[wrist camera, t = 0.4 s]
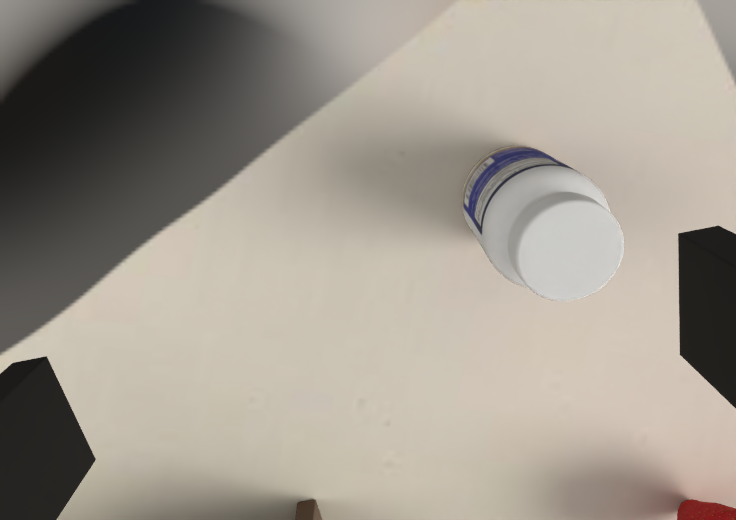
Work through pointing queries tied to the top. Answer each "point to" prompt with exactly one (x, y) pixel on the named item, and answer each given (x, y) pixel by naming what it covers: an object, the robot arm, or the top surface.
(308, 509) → the shelf
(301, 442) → the top surface
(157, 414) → the top surface
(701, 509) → the strawberry
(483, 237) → the pill bottle
